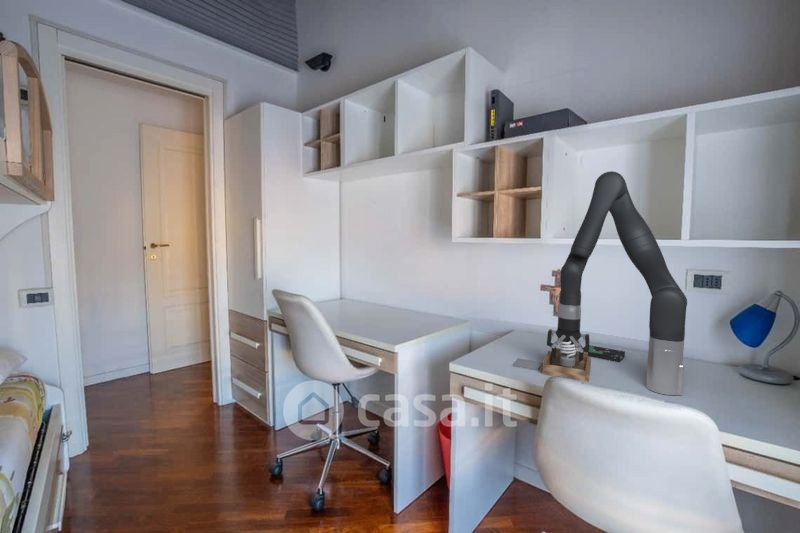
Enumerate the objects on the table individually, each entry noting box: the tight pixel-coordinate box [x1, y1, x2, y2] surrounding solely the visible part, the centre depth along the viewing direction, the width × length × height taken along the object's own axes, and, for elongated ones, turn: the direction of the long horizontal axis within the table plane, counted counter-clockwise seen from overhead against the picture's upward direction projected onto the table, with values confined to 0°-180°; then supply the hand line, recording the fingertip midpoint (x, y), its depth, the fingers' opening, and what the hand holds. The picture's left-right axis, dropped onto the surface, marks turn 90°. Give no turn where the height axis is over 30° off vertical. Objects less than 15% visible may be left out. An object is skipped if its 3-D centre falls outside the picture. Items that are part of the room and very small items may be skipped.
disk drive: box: [586, 344, 626, 363], centre depth 160 cm, size 10×3×15 cm
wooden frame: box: [541, 347, 592, 383], centre depth 141 cm, size 15×15×6 cm
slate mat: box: [512, 357, 543, 371], centre depth 148 cm, size 9×9×1 cm
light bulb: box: [559, 341, 578, 368], centre depth 140 cm, size 6×6×12 cm
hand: (566, 359), depth 141 cm, fingers open, 8 cm apart
